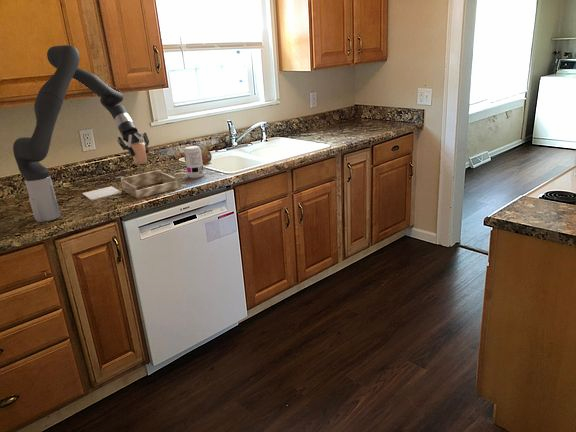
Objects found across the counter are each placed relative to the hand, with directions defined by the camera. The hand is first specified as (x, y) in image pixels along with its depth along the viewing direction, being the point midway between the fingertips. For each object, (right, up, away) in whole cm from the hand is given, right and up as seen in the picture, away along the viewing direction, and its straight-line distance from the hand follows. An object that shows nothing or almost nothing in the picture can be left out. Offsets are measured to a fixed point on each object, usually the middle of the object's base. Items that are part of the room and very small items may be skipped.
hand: (140, 153), depth 207 cm
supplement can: (+20, -8, +25) cm, 33 cm away
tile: (-20, -18, +6) cm, 28 cm away
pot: (-1, -4, +3) cm, 5 cm away
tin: (+17, 0, +48) cm, 51 cm away
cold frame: (+2, -16, +8) cm, 18 cm away
